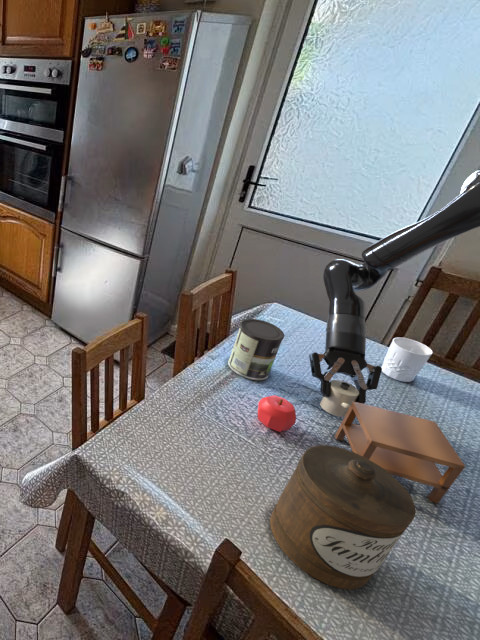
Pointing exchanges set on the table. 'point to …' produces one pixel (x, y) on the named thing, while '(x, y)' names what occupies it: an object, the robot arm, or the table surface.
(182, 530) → the table surface
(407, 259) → the robot arm
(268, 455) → the table surface
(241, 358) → the coffee can
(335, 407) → the kettle
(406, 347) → the white cup
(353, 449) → the stand
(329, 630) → the table surface
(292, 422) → the apple
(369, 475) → the wooden container
